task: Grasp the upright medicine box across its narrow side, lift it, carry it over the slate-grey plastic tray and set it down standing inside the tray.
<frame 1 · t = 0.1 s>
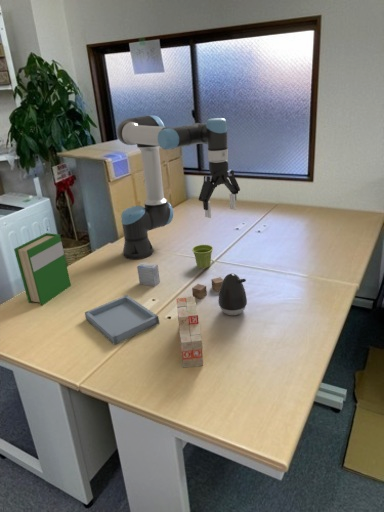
hand: (220, 213, 164), 28 cm above the table, fingers open, 13 cm apart
medicine box: (149, 283, 173), on the table
plant pot: (203, 266, 185), on the table
pump dispenser: (233, 312, 147), on the table
walnut block a: (199, 295, 160), on the table
tray: (121, 321, 146), on the table
hardback book: (50, 294, 170), on the table
walnut block b: (218, 288, 164), on the table
stack of blocks: (190, 346, 130), on the table
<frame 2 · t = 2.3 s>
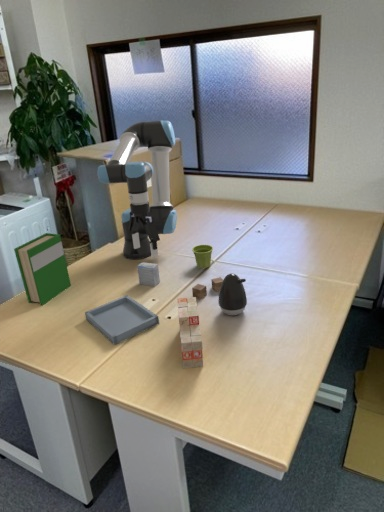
hand: (145, 252, 167), 15 cm above the table, fingers open, 13 cm apart
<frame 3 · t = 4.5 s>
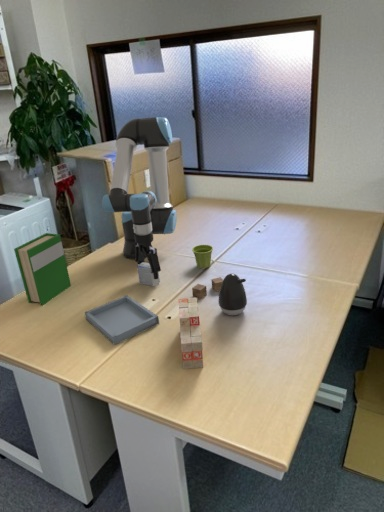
hand: (149, 281, 172), 1 cm above the table, fingers closed on medicine box, 9 cm apart
medicine box: (149, 283, 173), on the table, touching gripper
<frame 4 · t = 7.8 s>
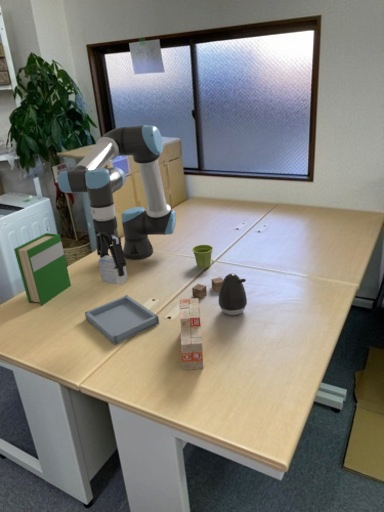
hand: (114, 279, 139), 17 cm above the table, fingers closed on medicine box, 9 cm apart
medicine box: (115, 281, 140), point 16 cm above the table, touching gripper
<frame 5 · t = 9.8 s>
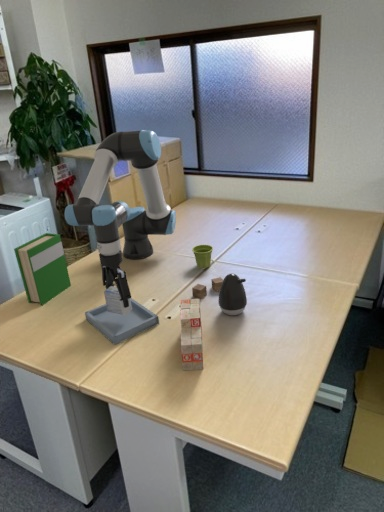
hand: (119, 309, 144), 5 cm above the table, fingers closed on medicine box, 9 cm apart
medicine box: (120, 311, 145), point 4 cm above the table, touching gripper
when the fingers open (3 cm above the table, at t = 11.3 s): medicine box stays where it is, resting on tray.
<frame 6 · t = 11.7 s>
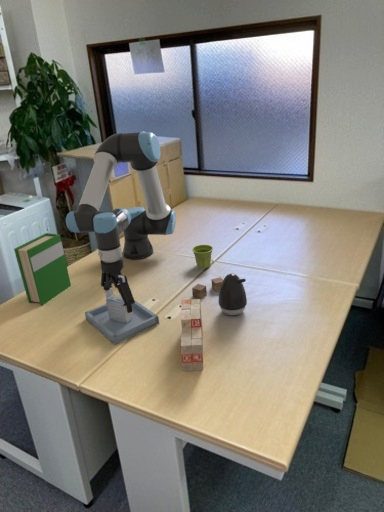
hand: (120, 312, 145), 4 cm above the table, fingers open, 13 cm apart
medicine box: (121, 319, 146), point 1 cm above the table, touching tray
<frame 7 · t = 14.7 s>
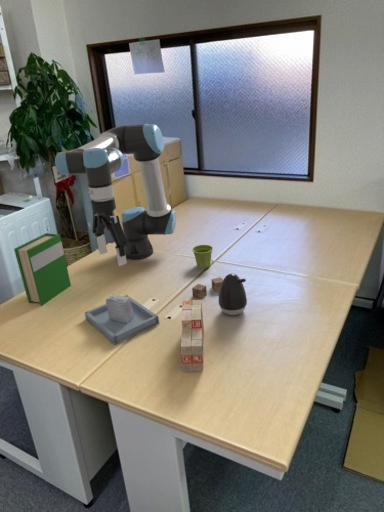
hand: (112, 258, 137), 25 cm above the table, fingers open, 13 cm apart
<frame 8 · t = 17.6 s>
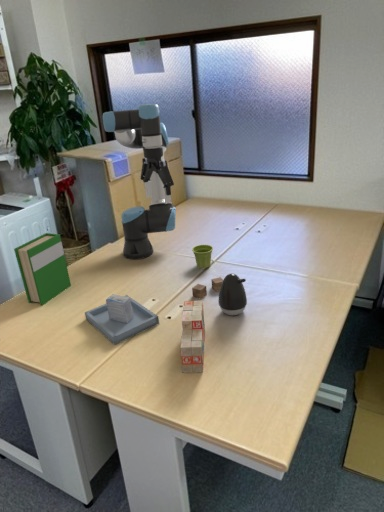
hand: (158, 200, 164), 35 cm above the table, fingers open, 13 cm apart
at the end: medicine box inside the target area on the tray (0.1 cm from its centre), point 0.8 cm above the tray's base; medicine box tilted 0°; the gripper is holding nothing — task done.
